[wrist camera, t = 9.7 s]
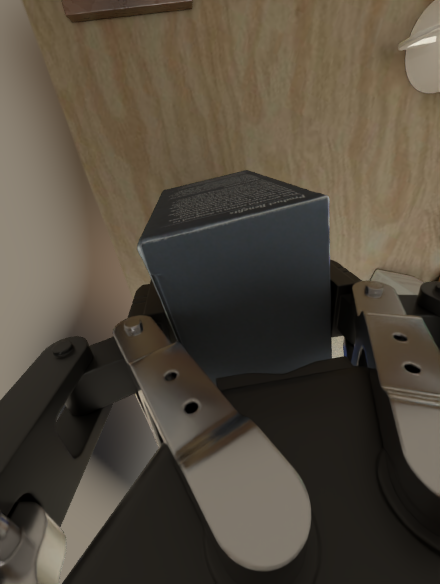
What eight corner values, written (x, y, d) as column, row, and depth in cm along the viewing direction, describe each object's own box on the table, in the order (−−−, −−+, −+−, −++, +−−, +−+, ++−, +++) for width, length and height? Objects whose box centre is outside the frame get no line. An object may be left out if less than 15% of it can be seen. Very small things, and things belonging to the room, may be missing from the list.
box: (265, 278, 20) (336, 389, 11) (192, 296, 20) (201, 424, 11) (249, 166, 16) (337, 192, 7) (159, 188, 16) (129, 244, 7)
